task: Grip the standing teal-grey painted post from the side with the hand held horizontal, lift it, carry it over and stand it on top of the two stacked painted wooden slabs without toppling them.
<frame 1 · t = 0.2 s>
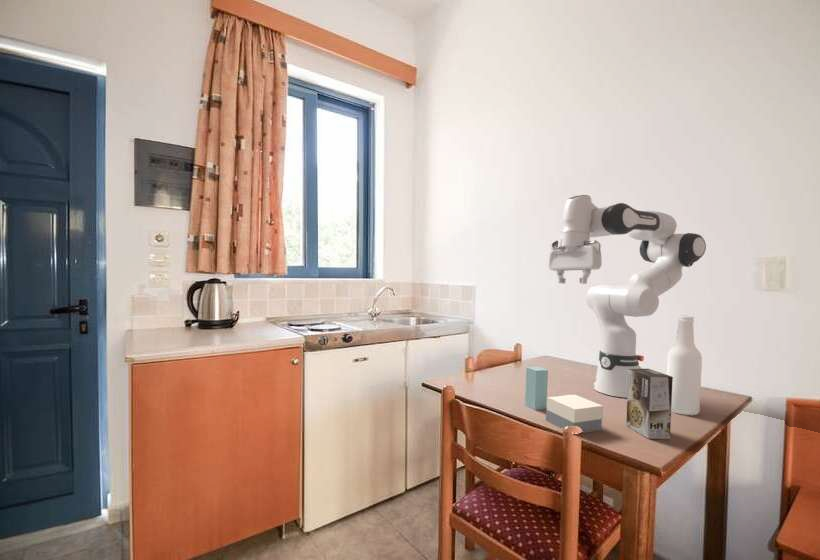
hand: (572, 283, 128), 39 cm above the table, tool pointing down, fingers open, 8 cm apart
coffee box: (647, 432, 102), on the table
teal post: (535, 406, 119), on the table
alcohol: (681, 411, 120), on the table
slab top: (574, 414, 105), point 3 cm above the table, touching slab bottom
slab bottom: (572, 426, 105), on the table, touching slab top
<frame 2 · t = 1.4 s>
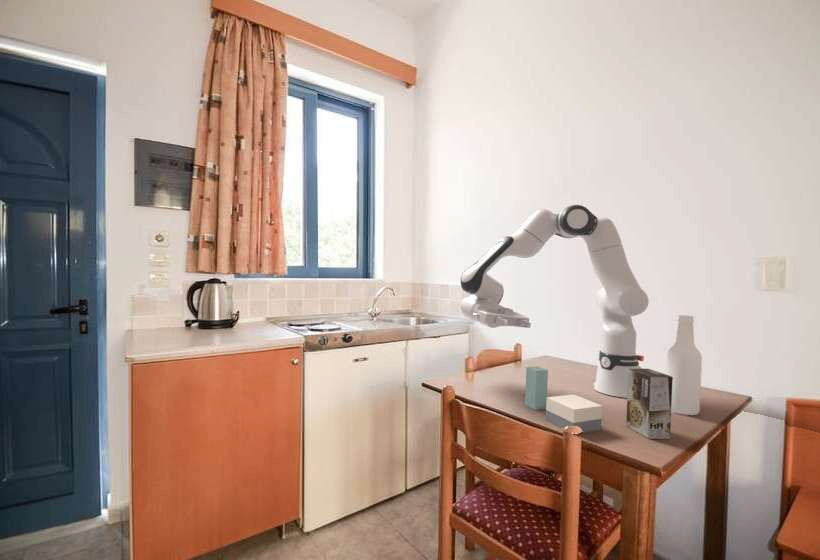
hand: (519, 324, 128), 24 cm above the table, tool horizontal, fingers open, 8 cm apart
nothing on the table moved.
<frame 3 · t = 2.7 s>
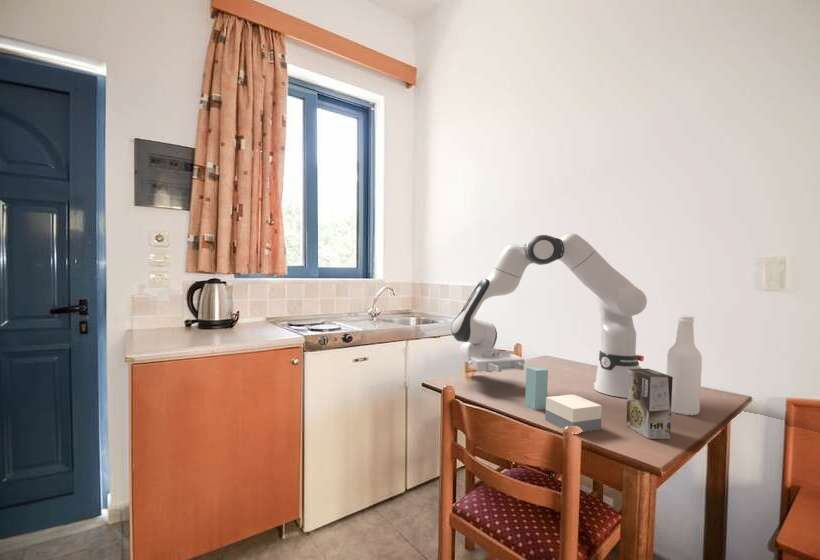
hand: (511, 368, 130), 9 cm above the table, tool horizontal, fingers open, 8 cm apart
slab top: (572, 413, 105), point 3 cm above the table
slab bottom: (572, 426, 105), on the table
everything else where it was.
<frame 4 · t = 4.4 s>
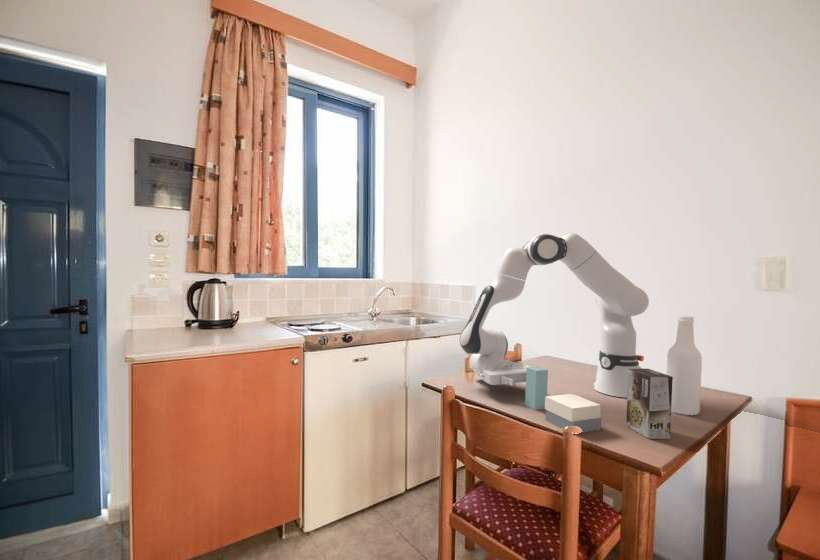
hand: (525, 381, 124), 6 cm above the table, tool horizontal, fingers open, 8 cm apart
slab top: (571, 413, 106), point 3 cm above the table, touching slab bottom
slab bottom: (572, 426, 105), on the table, touching slab top
everything else where it was.
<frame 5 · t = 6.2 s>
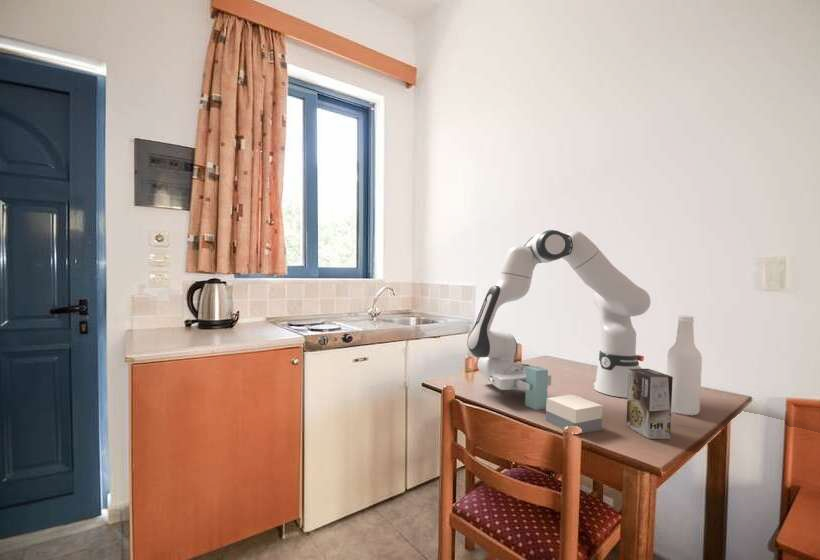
hand: (538, 386, 118), 7 cm above the table, tool horizontal, fingers closed on teal post, 4 cm apart
teal post: (535, 406, 119), on the table, touching gripper
everything else where it was.
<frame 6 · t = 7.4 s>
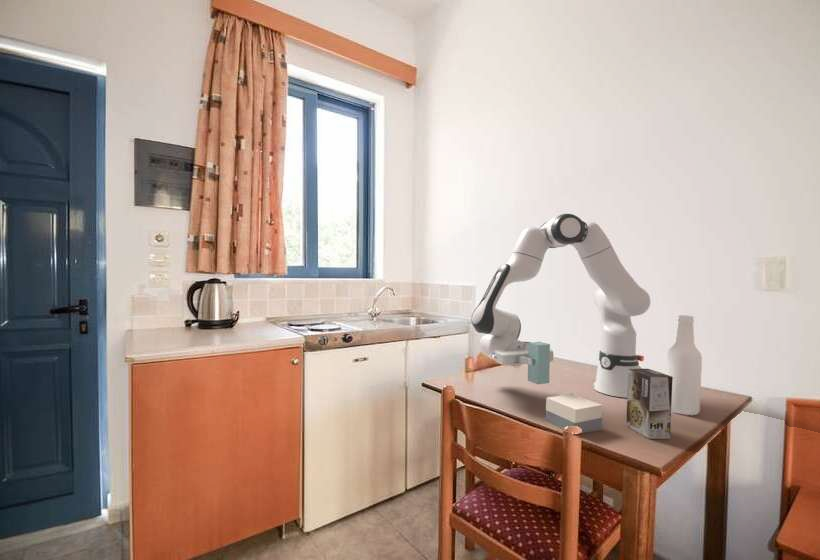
hand: (540, 361, 118), 14 cm above the table, tool horizontal, fingers closed on teal post, 4 cm apart
teal post: (538, 381, 119), point 8 cm above the table, touching gripper
everything else where it was.
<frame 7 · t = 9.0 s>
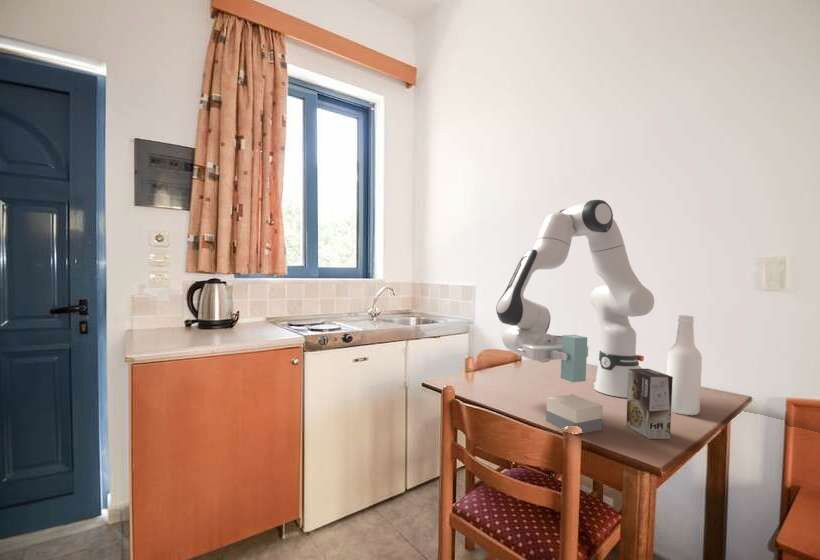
hand: (576, 356, 105), 19 cm above the table, tool horizontal, fingers closed on teal post, 4 cm apart
teal post: (572, 379, 106), point 12 cm above the table, touching gripper
everything else where it was.
when the fingers open (14 cm above the table, at t = 10.5 s): teal post drops 1 cm, resting on slab top.
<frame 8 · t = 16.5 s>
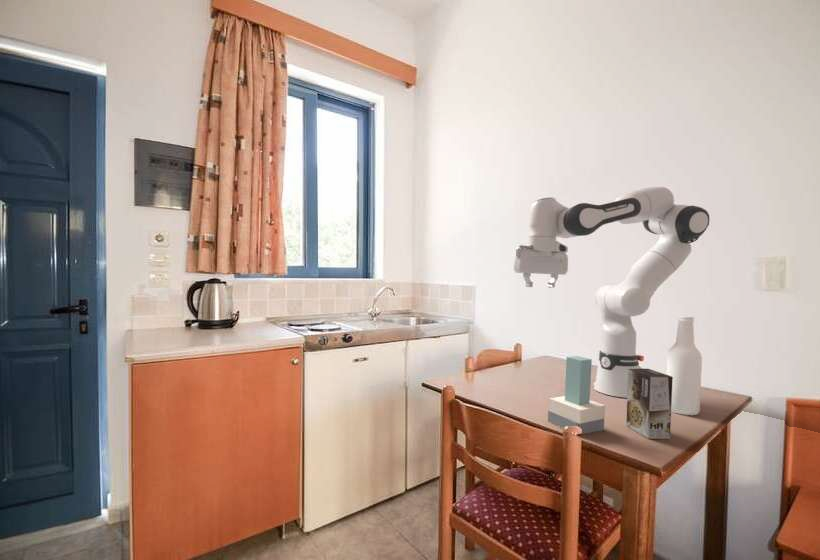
hand: (540, 287, 129), 37 cm above the table, tool pointing down, fingers open, 8 cm apart
teal post: (576, 401, 105), point 7 cm above the table, touching slab top
slab top: (576, 414, 105), point 3 cm above the table, touching slab bottom, teal post
everything else where it was.
at the end: teal post inside the target area on the slab top (0.2 cm from its centre), point 3.6 cm above the slab top's base; teal post tilted 1°; slab top moved 1.0 cm from its start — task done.
